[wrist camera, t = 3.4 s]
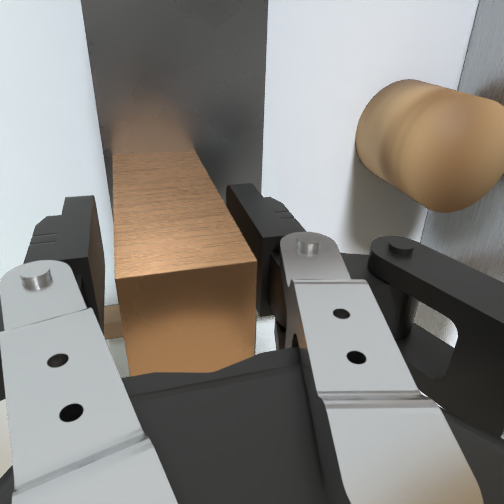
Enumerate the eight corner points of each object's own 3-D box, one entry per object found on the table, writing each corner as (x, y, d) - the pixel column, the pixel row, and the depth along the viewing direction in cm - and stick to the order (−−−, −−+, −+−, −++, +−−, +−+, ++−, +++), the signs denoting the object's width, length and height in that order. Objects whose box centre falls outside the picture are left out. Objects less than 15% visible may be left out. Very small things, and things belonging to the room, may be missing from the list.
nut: (451, 78, 22) (530, 96, 18) (429, 172, 25) (494, 207, 21) (363, 80, 21) (426, 100, 17) (349, 179, 23) (401, 217, 19)
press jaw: (221, -74, 16) (449, -220, 5) (224, 286, 24) (318, 521, 13) (77, -84, 15) (-6, -302, 4) (131, 299, 23) (150, 569, 12)
